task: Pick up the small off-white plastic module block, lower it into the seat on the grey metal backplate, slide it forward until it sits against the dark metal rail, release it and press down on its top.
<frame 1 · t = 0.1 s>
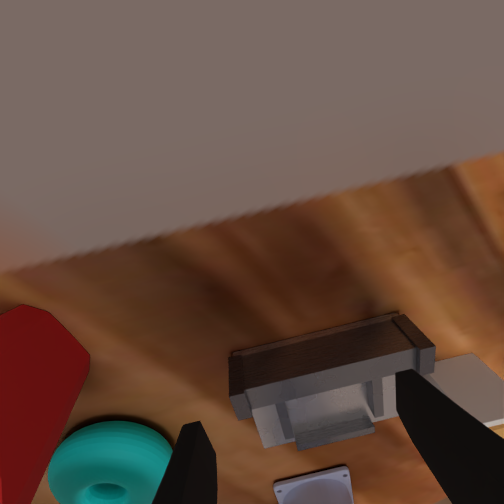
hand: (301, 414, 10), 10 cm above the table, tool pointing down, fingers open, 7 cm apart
donuts: (121, 448, 25), on the table
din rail: (319, 360, 23), on the table
module: (445, 378, 25), on the table
french fries: (45, 340, 20), on the table
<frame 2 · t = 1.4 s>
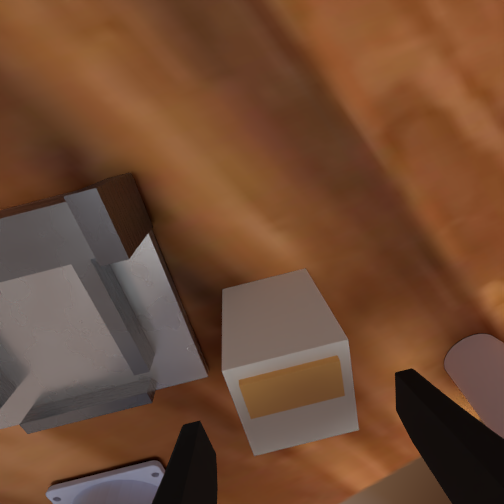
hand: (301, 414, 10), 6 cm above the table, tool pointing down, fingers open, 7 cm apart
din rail: (23, 273, 13), on the table
module: (273, 316, 16), on the table
smoothie: (468, 354, 19), on the table
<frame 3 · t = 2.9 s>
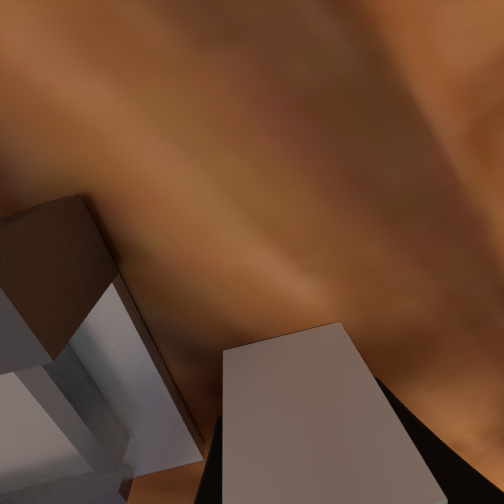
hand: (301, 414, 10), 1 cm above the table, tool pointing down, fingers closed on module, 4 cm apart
module: (292, 382, 11), on the table, touching gripper
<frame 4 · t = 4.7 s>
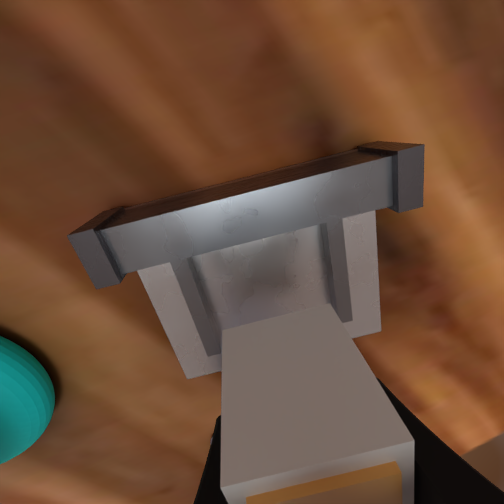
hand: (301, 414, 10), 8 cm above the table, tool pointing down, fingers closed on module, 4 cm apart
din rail: (253, 233, 15), on the table
module: (286, 361, 12), point 5 cm above the table, touching gripper
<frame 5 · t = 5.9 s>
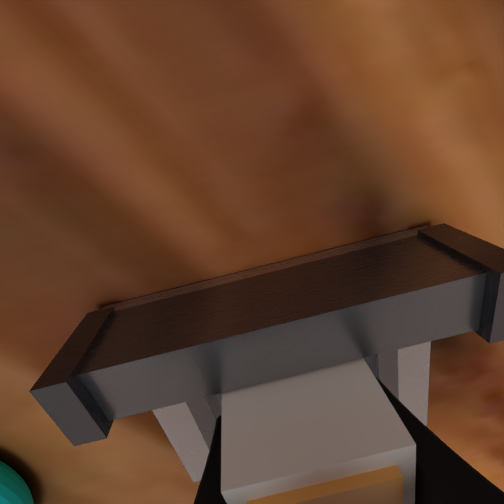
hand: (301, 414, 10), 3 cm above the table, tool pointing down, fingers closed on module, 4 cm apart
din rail: (277, 325, 12), on the table
module: (287, 362, 12), point 1 cm above the table, touching gripper
when the fingers open (3 cm above the table, at t = 6.7 s): module stays where it is, resting on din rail.
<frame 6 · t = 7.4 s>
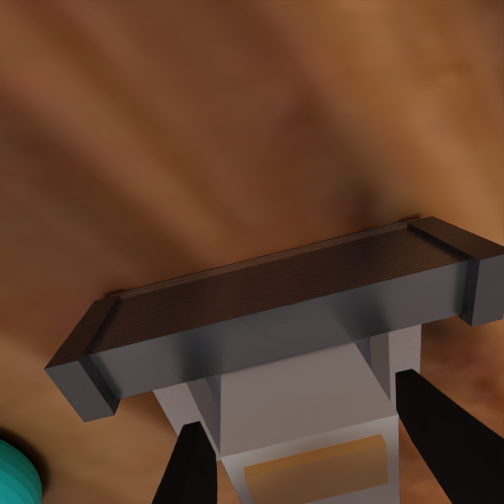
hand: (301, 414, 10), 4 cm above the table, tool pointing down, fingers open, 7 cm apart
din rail: (275, 314, 13), on the table
module: (283, 349, 13), point 1 cm above the table, touching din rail
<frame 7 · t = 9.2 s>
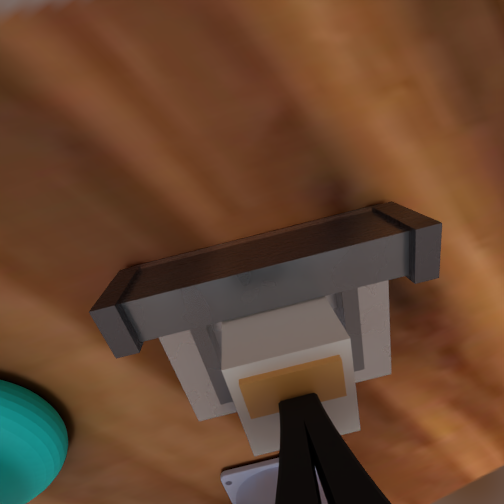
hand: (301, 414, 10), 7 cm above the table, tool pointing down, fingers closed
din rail: (266, 284, 15), on the table
module: (273, 314, 15), point 1 cm above the table, touching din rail
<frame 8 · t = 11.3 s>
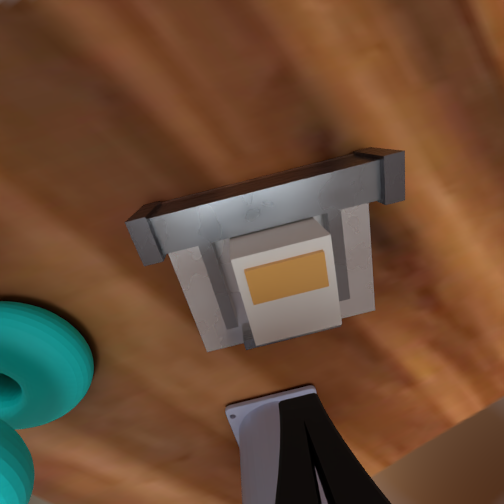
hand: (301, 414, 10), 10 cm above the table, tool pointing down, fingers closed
donuts: (29, 349, 21), on the table
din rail: (266, 224, 18), on the table
module: (272, 249, 18), point 1 cm above the table, touching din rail
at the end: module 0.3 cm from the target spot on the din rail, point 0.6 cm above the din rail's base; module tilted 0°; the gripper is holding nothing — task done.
